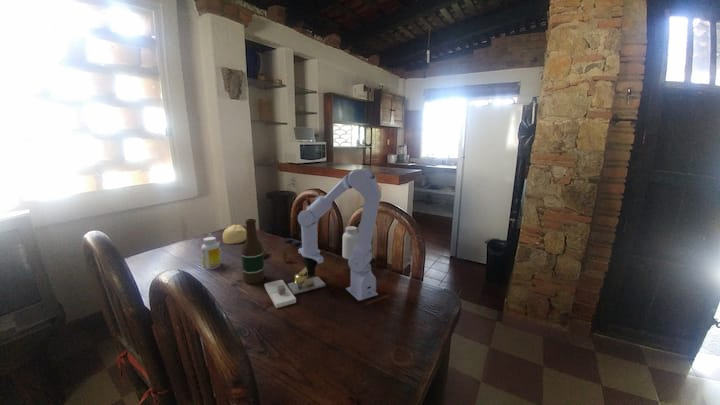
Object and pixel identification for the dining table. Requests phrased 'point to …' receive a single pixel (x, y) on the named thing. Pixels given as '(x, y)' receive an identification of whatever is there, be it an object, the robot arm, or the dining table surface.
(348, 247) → the pill bottle
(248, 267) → the beer bottle
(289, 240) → the dark slate chunk
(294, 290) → the plate
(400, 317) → the dining table surface
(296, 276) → the latch arm
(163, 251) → the dining table surface
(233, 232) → the steamed bun
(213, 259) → the supplement bottle
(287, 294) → the door board
